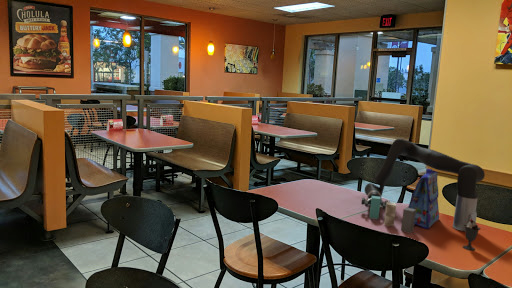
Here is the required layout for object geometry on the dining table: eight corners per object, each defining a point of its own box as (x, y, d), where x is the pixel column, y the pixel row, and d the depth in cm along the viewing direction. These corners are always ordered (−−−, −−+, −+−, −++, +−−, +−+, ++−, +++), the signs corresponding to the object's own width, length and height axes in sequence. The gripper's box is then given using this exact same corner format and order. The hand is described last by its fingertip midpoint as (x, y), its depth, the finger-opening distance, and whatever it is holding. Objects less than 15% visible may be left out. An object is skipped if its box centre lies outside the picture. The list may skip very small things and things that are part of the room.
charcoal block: (413, 230, 202) (416, 209, 200) (410, 233, 198) (412, 211, 197) (404, 228, 205) (406, 207, 203) (400, 230, 201) (403, 209, 199)
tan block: (393, 223, 210) (395, 203, 209) (393, 226, 206) (396, 205, 204) (384, 222, 212) (386, 201, 210) (384, 225, 207) (386, 204, 205)
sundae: (462, 244, 189) (467, 212, 186) (478, 248, 185) (483, 216, 182) (458, 248, 184) (463, 216, 181) (475, 252, 179) (480, 220, 177)
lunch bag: (429, 230, 205) (436, 174, 200) (401, 223, 213) (408, 168, 208) (439, 219, 222) (447, 167, 217) (414, 213, 230) (420, 163, 225)
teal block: (378, 216, 220) (380, 196, 219) (378, 219, 216) (380, 199, 214) (369, 215, 221) (371, 195, 220) (369, 217, 217) (371, 197, 215)
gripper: (362, 190, 233) (362, 197, 217) (388, 193, 229) (390, 201, 214) (360, 202, 234) (360, 211, 218) (386, 206, 230) (388, 215, 215)
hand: (375, 206), depth 216 cm, fingers open, 8 cm apart
